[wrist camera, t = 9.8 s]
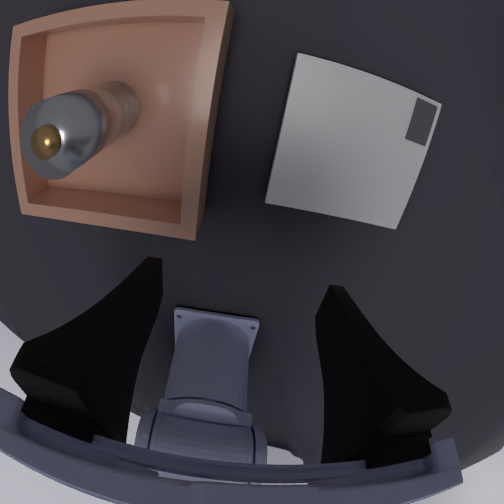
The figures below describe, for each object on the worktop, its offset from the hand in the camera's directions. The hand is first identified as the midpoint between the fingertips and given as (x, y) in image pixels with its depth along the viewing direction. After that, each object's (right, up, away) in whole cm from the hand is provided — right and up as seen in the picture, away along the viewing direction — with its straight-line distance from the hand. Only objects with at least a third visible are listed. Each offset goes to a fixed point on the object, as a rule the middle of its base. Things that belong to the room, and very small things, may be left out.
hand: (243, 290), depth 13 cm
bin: (-9, +11, +4) cm, 15 cm away
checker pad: (+7, +8, +5) cm, 12 cm away
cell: (-9, +11, +3) cm, 14 cm away
